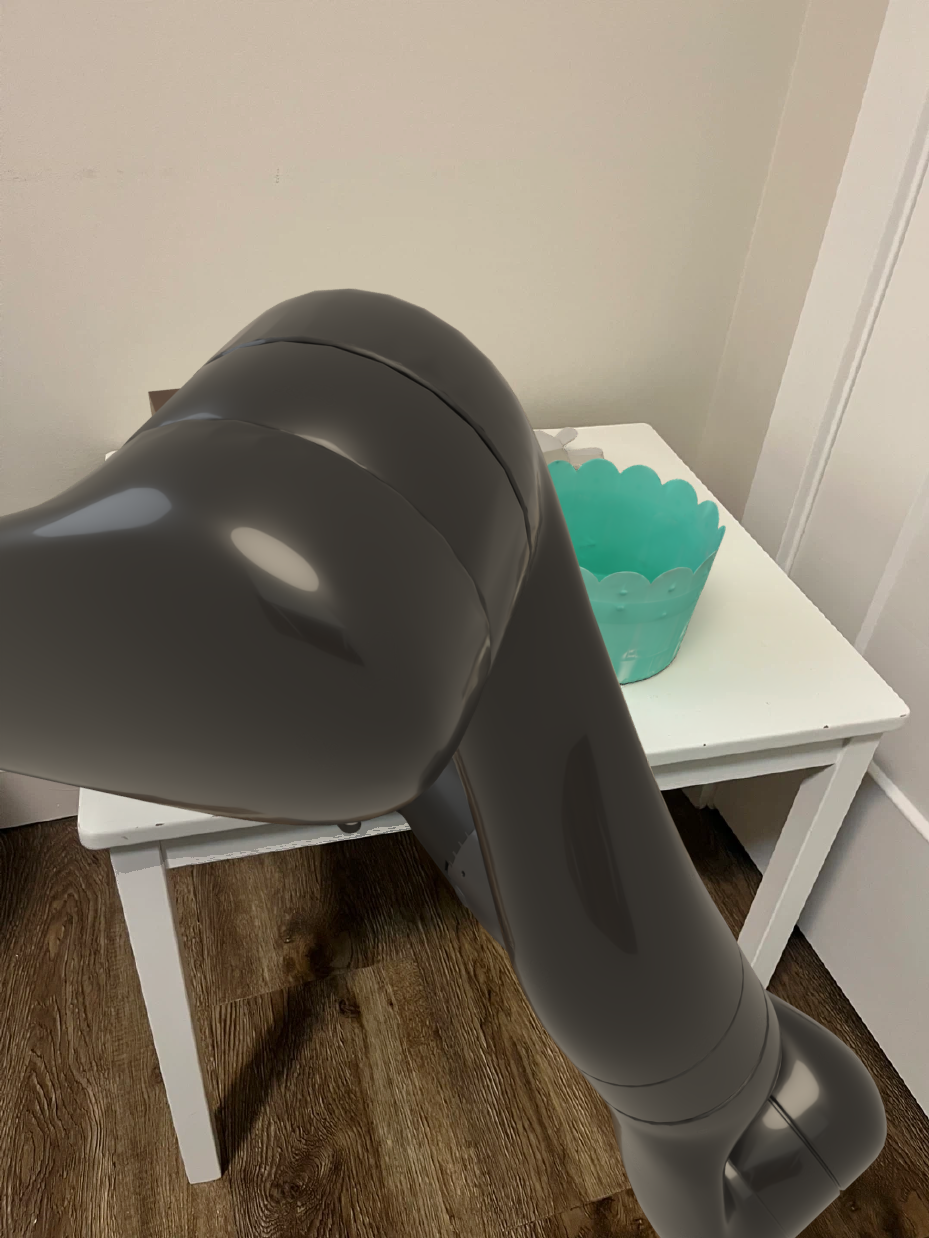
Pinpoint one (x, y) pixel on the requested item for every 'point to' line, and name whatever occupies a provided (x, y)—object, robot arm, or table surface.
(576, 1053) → the robot arm
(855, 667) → the table surface
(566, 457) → the bunny figurine
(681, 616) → the basket
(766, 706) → the table surface
